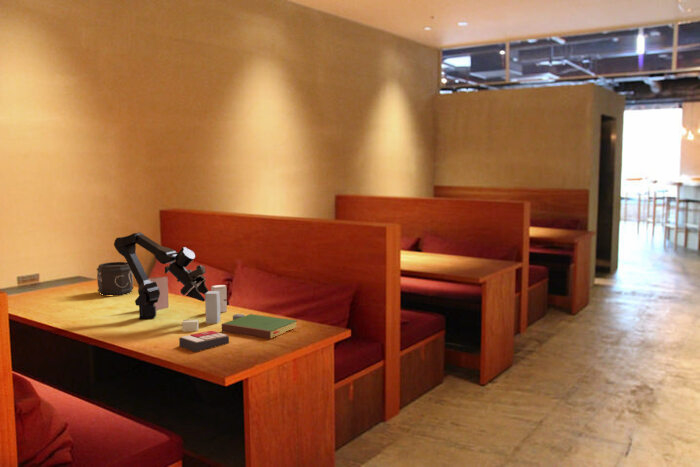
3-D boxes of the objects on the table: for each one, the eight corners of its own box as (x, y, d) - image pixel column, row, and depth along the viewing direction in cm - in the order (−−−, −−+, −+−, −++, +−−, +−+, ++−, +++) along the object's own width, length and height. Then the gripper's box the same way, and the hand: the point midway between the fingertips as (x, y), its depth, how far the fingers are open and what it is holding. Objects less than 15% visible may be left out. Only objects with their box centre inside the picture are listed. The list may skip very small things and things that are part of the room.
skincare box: (214, 313, 279) (214, 287, 278) (211, 311, 283) (210, 285, 281) (227, 311, 282) (226, 285, 281) (223, 309, 286) (223, 284, 285)
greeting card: (168, 307, 292) (167, 276, 290) (168, 310, 285) (167, 279, 283) (143, 309, 289) (142, 277, 287) (143, 312, 282) (141, 280, 280)
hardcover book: (221, 332, 248) (221, 323, 248) (250, 322, 264) (250, 314, 264) (271, 341, 236) (271, 331, 236) (298, 329, 252) (298, 320, 252)
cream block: (182, 331, 249) (182, 322, 248) (184, 329, 253) (183, 319, 252) (197, 331, 249) (197, 321, 249) (198, 328, 253) (198, 319, 253)
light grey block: (205, 323, 261) (205, 293, 260) (209, 320, 266) (208, 291, 265) (217, 323, 261) (216, 293, 260) (220, 320, 266) (219, 291, 265)
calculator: (229, 334, 232) (196, 341, 220) (229, 345, 232) (196, 352, 221) (212, 329, 239) (178, 335, 228) (211, 340, 239) (178, 347, 228)
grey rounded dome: (232, 324, 260) (232, 317, 260) (233, 321, 265) (233, 314, 265) (244, 323, 261) (244, 316, 261) (244, 320, 266) (244, 313, 266)
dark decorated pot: (140, 290, 333) (139, 261, 331) (121, 297, 315) (120, 267, 314) (111, 289, 337) (110, 260, 335) (91, 295, 319) (89, 266, 318)
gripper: (186, 263, 252) (214, 289, 252) (200, 256, 270) (225, 281, 271) (168, 282, 253) (196, 308, 254) (183, 274, 272) (208, 298, 272)
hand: (207, 298), depth 263 cm, fingers open, 9 cm apart
